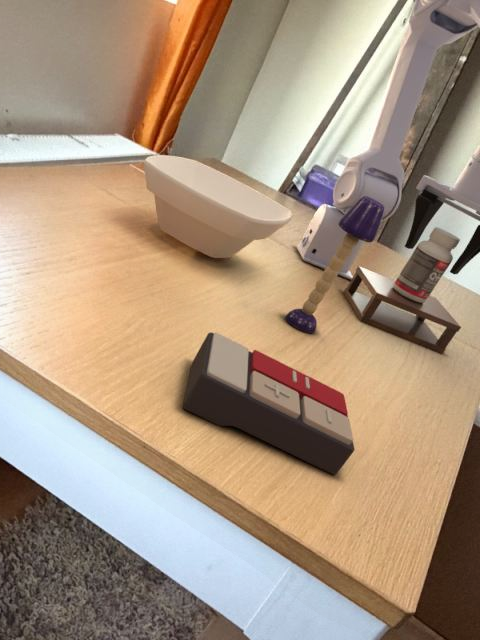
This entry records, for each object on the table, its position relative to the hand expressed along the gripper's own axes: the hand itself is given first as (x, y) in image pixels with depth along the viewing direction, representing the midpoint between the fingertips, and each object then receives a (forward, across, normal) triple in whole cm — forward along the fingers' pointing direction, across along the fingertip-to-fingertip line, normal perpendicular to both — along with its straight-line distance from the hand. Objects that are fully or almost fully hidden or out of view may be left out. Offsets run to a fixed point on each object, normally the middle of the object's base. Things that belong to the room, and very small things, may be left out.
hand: (430, 260), depth 110 cm
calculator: (+10, -10, +57) cm, 59 cm away
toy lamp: (+10, +2, +27) cm, 29 cm away
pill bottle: (+6, 0, 0) cm, 6 cm away
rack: (+10, 0, 0) cm, 10 cm away
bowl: (+10, +25, +22) cm, 35 cm away
